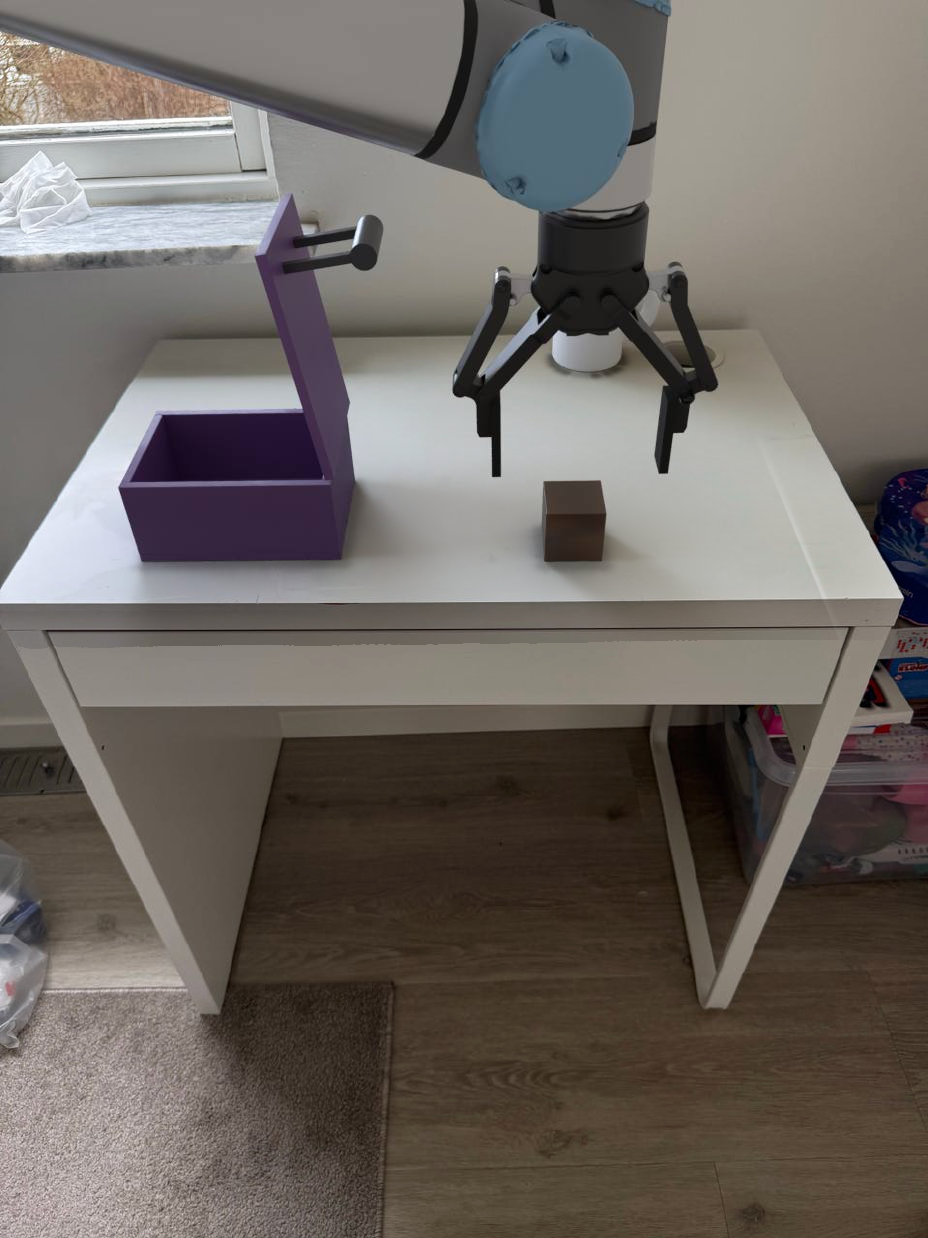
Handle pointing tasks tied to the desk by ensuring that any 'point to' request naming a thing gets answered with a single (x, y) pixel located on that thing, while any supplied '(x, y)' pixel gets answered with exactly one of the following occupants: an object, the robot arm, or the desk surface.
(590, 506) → the block
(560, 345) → the mug
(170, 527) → the purple box
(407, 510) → the desk surface
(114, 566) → the desk surface
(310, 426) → the purple hinged box lid
